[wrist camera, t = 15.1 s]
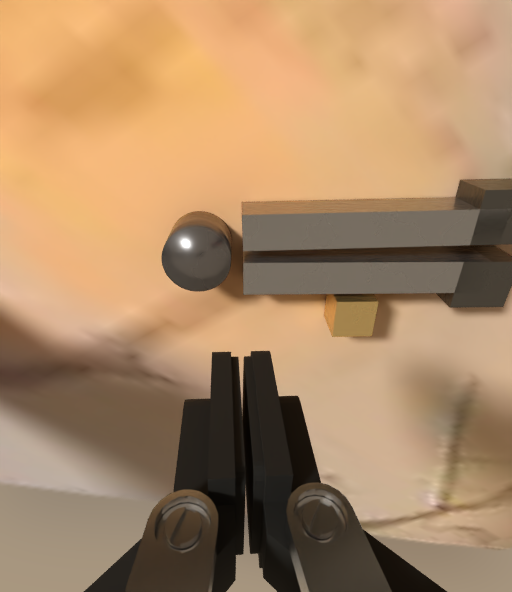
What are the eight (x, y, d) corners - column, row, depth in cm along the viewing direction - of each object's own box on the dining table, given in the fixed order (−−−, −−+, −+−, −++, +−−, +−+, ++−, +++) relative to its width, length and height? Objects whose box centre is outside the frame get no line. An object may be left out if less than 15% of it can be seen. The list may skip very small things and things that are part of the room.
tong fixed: (175, 290, 29) (168, 314, 26) (167, 211, 26) (157, 228, 22) (479, 287, 30) (508, 311, 27) (506, 211, 27) (541, 228, 24)
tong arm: (242, 235, 27) (243, 251, 24) (241, 184, 25) (241, 195, 22) (500, 228, 27) (529, 243, 25) (517, 178, 25) (549, 188, 23)
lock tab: (324, 315, 30) (332, 336, 28) (328, 282, 29) (337, 302, 26) (360, 314, 30) (371, 336, 28) (366, 282, 29) (378, 301, 26)
